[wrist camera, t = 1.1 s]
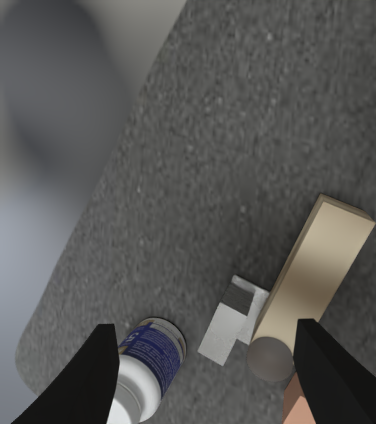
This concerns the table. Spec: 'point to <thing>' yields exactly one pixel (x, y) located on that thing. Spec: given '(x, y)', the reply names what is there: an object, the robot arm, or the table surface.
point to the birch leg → (306, 283)
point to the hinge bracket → (233, 318)
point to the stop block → (296, 405)
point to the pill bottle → (146, 370)
